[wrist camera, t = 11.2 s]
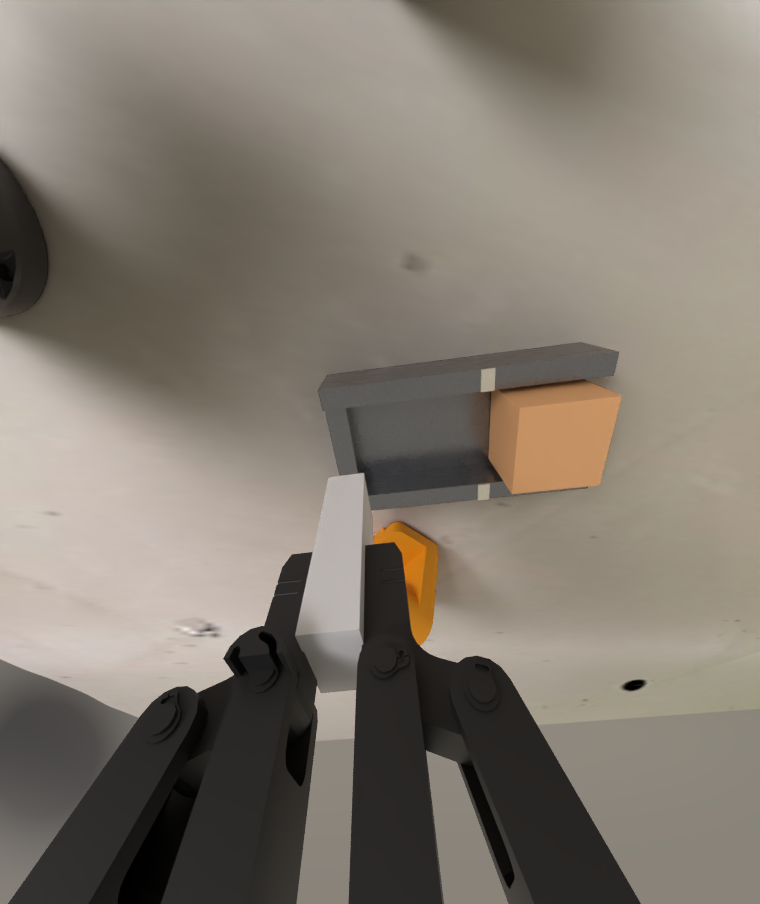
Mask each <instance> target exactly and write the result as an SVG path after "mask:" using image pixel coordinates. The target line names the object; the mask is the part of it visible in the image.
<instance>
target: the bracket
mask: <svg viewBox="0 0 760 904" xmlns="http://www.w3.org/2000/svg"><path fill="white" fill-rule="evenodd" d="M390 542H395V544H396V545H397V547H398V548H399V550H400V551H401V553H402V558H403V565H404V573H405V581H406V589H407V597H408V606H409V614H410V623H411V630H412V635H413V637H414V638H415V640H416V642H417V643H418V645H419V646H420V645H421V644H422V643H423V642H424V641H425V640H426V639H427V637H428V635H429V633H430V631H431V628H432V624H433V615H434V603H435V592H436V580H437V568H438V557H439V554H438V549H437V545H436V544H435V543H434V542H432V541H430V540H429V539H427V538H425V537H424V536H422V535H421V534H419V533H417V532H416V531H414V530H412V529H411V528H409V527H407V526H406V525H404V524H403V523H401V522H394V523H392V524H391V525H390V526H389V527H388V528H387V529H386V528H383V529H382V530H381V531H380V532H379V533H377V534H376V535H375V536H374V537H373V544H381V543H390Z"/></svg>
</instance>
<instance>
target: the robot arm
mask: <svg viewBox="0 0 760 904" xmlns="http://www.w3.org/2000/svg"><path fill="white" fill-rule="evenodd" d="M47 269H48V261H47V251H46V246H45V241H44V237H43V234H42V231H41V228H40V225H39V222H38V220H37V218H36V215H35V213H34V211H33V209H32V207H31V205H30V203H29V201H28V199H27V198H26V196H25V194H24V192H23V191H22V189H21V188H20V186H19V185H18V183H17V182H16V180H15V179H14V177H13V176H12V175H11V173H10V172H9V171H8V169H7V168H6V167H5V166H4V164H3V163H2V162H1V161H0V316H9V315H14V314H17V313H20V312H22V311H24V310H26V309H28V308H29V307H30V306H32V305H33V304H34V303H35V302H36V301H37V299H38V298H39V297H40V295H41V293H42V291H43V289H44V286H45V283H46V279H47ZM223 659H224V660H225V662H226V663H227V664H228V666H229V667H230V669H231V670H232V672H233V673H234V676H232V677H230V678H228V679H227V680H225V681H223V682H220V683H218V684H216V685H214V686H212V687H209V688H207V689H205V690H203V691H201V692H198V693H196V692H195V691H194V690H193V689H191V688H189V687H188V686H184V687H176V688H173V689H171V690H169V691H167V692H165V693H163V694H162V695H161V696H159V697H158V698H157V699H156V700H154V701H153V702H152V703H151V704H150V705H149V707H148V708H147V709H146V710H145V711H144V712H143V714H142V715H141V716H140V717H139V719H138V720H137V722H136V723H135V724H134V726H133V727H132V729H131V730H130V732H129V733H128V734H127V736H126V738H125V739H124V740H123V742H122V743H121V744H120V746H119V747H118V749H117V750H116V751H115V753H114V754H113V756H112V757H111V759H110V760H109V761H108V763H107V764H106V766H105V767H104V768H103V770H102V771H101V773H100V774H99V776H98V777H97V779H96V780H95V781H94V783H93V784H92V786H91V787H90V788H89V790H88V791H87V793H86V794H85V796H84V797H83V798H82V800H81V801H80V803H79V804H78V806H77V807H76V808H75V810H74V811H73V812H72V814H71V815H70V817H69V818H68V820H67V821H66V822H65V824H64V825H63V827H62V828H61V830H60V831H59V832H58V834H57V835H56V837H55V838H54V839H53V841H52V842H51V844H50V845H49V847H48V848H47V849H46V851H45V852H44V854H43V855H42V856H41V858H40V859H39V861H38V862H37V864H36V865H35V867H34V868H33V869H32V871H31V872H30V874H29V875H28V877H27V878H26V880H25V881H24V882H23V884H22V885H21V887H20V888H19V889H18V891H17V892H16V893H15V895H14V896H13V898H12V899H11V900H10V902H9V903H8V904H296V901H297V893H298V884H299V875H300V867H301V859H302V850H303V842H304V841H303V840H304V833H305V824H306V816H307V808H308V799H309V791H310V782H311V774H312V765H313V756H314V748H315V739H316V731H317V722H318V720H317V709H316V707H315V705H314V702H315V694H316V687H317V686H318V688H319V690H320V692H321V693H327V692H337V691H347V690H356V714H355V741H354V769H353V771H354V772H353V798H352V826H351V853H350V882H349V904H444V901H443V893H442V884H441V875H440V867H439V858H438V850H437V842H436V833H435V825H434V816H433V807H432V799H431V790H430V782H429V773H428V765H427V756H426V750H427V751H429V752H432V753H434V754H437V755H440V756H442V757H445V758H448V759H451V760H453V761H456V762H457V763H458V766H459V769H460V771H461V774H462V777H463V780H464V782H465V785H466V788H467V790H468V793H469V796H470V799H471V802H472V804H473V807H474V810H475V813H476V815H477V818H478V821H479V824H480V826H481V829H482V832H483V835H484V837H485V840H486V843H487V846H488V848H489V851H490V854H491V857H492V859H493V862H494V865H495V868H496V870H497V873H498V876H499V879H500V881H501V884H502V887H503V889H504V892H505V895H506V898H507V901H508V903H509V904H640V902H639V900H638V898H637V896H636V895H635V893H634V891H633V890H632V888H631V886H630V885H629V883H628V881H627V879H626V878H625V876H624V874H623V872H622V871H621V869H620V867H619V865H618V864H617V862H616V860H615V859H614V857H613V855H612V854H611V852H610V850H609V848H608V846H607V845H606V843H605V842H604V840H603V838H602V836H601V834H600V833H599V831H598V829H597V828H596V826H595V824H594V822H593V821H592V819H591V817H590V815H589V814H588V812H587V810H586V809H585V807H584V805H583V803H582V802H581V800H580V798H579V797H578V795H577V793H576V792H575V790H574V788H573V786H572V784H571V783H570V781H569V779H568V778H567V776H566V774H565V772H564V771H563V769H562V767H561V766H560V764H559V762H558V760H557V759H556V757H555V755H554V753H553V752H552V750H551V748H550V747H549V745H548V743H547V741H546V740H545V738H544V736H543V735H542V733H541V731H540V729H539V728H538V726H537V724H536V722H535V721H534V719H533V717H532V716H531V714H530V712H529V710H528V709H527V707H526V705H525V704H524V702H523V700H522V698H521V697H520V695H519V693H518V691H517V690H516V688H515V686H514V685H513V683H512V681H511V679H510V678H509V677H508V675H507V674H506V673H505V672H504V670H503V669H502V668H501V667H500V666H499V665H497V664H496V663H494V662H493V661H491V660H490V659H487V658H483V657H479V656H473V657H466V658H464V659H463V660H461V661H460V662H458V663H456V662H452V661H448V660H445V659H441V658H438V657H435V656H433V655H430V654H429V653H427V652H426V651H424V650H423V649H422V648H421V647H420V646H419V645H418V643H417V642H416V640H415V638H414V637H413V635H412V630H411V623H410V614H409V606H408V597H407V589H406V581H405V573H404V565H403V558H402V553H401V551H400V550H399V548H398V547H397V545H396V544H395V542H390V543H381V544H373V519H372V514H371V508H370V503H369V497H368V492H367V486H366V481H365V475H364V473H359V474H351V475H343V476H335V477H329V478H328V482H327V487H326V492H325V497H324V501H323V506H322V511H321V515H320V520H319V525H318V529H317V534H316V539H315V544H314V548H313V552H310V553H301V554H293V555H291V557H290V558H289V559H288V561H287V562H286V563H285V565H284V566H283V567H282V570H281V574H280V577H279V580H278V585H277V587H276V590H275V593H274V597H273V600H272V603H271V606H270V609H269V613H268V616H267V619H266V622H265V626H260V627H257V628H253V629H250V630H249V631H247V632H246V633H244V634H243V635H241V636H240V637H239V638H238V639H237V640H236V641H235V642H234V643H233V644H232V645H231V646H230V648H229V649H228V651H227V653H226V655H225V657H224V658H223Z"/></svg>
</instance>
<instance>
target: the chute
mask: <svg viewBox="0 0 760 904" xmlns="http://www.w3.org/2000/svg"><path fill="white" fill-rule="evenodd" d="M618 355H619V352H618V351H614V350H610V349H606V348H602V347H598V346H594V345H590V344H586V343H582V342H580V343H572V344H564V345H556V346H549V347H541V348H533V349H525V350H517V351H510V352H502V353H494V354H486V355H479V356H471V357H463V358H455V359H448V360H440V361H432V362H424V363H416V364H409V365H401V366H393V367H385V368H378V369H370V370H362V371H354V372H347V373H339V374H331V375H327V376H326V378H325V379H324V381H323V383H322V384H321V386H320V387H319V389H318V392H319V397H320V401H321V406H322V410H323V411H325V412H326V417H327V421H328V426H329V430H330V435H331V439H332V444H333V449H334V453H335V458H336V462H337V467H338V471H339V476H343V475H351V474H359V473H364V475H365V481H366V486H367V492H368V497H369V503H370V508H371V510H381V509H390V508H400V507H410V506H419V505H429V504H439V503H448V502H458V501H468V500H478V501H479V500H489V498H497V497H506V496H516V495H526V494H536V493H545V492H555V491H565V490H574V489H584V488H588V487H578V488H569V489H559V490H549V491H540V492H530V493H520V494H511V492H510V490H509V489H508V487H507V486H506V484H505V483H504V481H503V480H502V478H501V477H500V475H499V474H498V472H497V471H496V469H495V468H494V466H493V465H492V463H491V462H490V460H489V459H488V456H489V434H490V411H491V391H494V390H498V389H506V388H515V387H523V386H531V385H539V384H547V383H555V382H564V381H572V380H580V379H588V378H596V377H604V376H613V375H614V373H615V368H616V364H617V359H618Z"/></svg>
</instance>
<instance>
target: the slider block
mask: <svg viewBox="0 0 760 904" xmlns="http://www.w3.org/2000/svg"><path fill="white" fill-rule="evenodd" d="M621 398H622V396H621V395H619V394H616V393H614V392H612V391H609V390H607V389H605V388H602V387H600V386H598V385H595V384H593V383H591V382H588V381H586V380H584V379H580V380H572V381H564V382H555V383H547V384H539V385H531V386H523V387H515V388H506V389H498V390H494V391H491V411H490V434H489V456H488V459H489V460H490V462H491V463H492V465H493V466H494V468H495V469H496V471H497V472H498V474H499V475H500V477H501V478H502V480H503V481H504V483H505V484H506V486H507V487H508V489H509V490H510V492H511V494H520V493H530V492H540V491H549V490H559V489H569V488H578V487H588V486H598V485H600V482H601V478H602V474H603V470H604V466H605V462H606V458H607V454H608V450H609V446H610V442H611V438H612V434H613V430H614V426H615V422H616V418H617V414H618V410H619V406H620V402H621Z"/></svg>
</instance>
